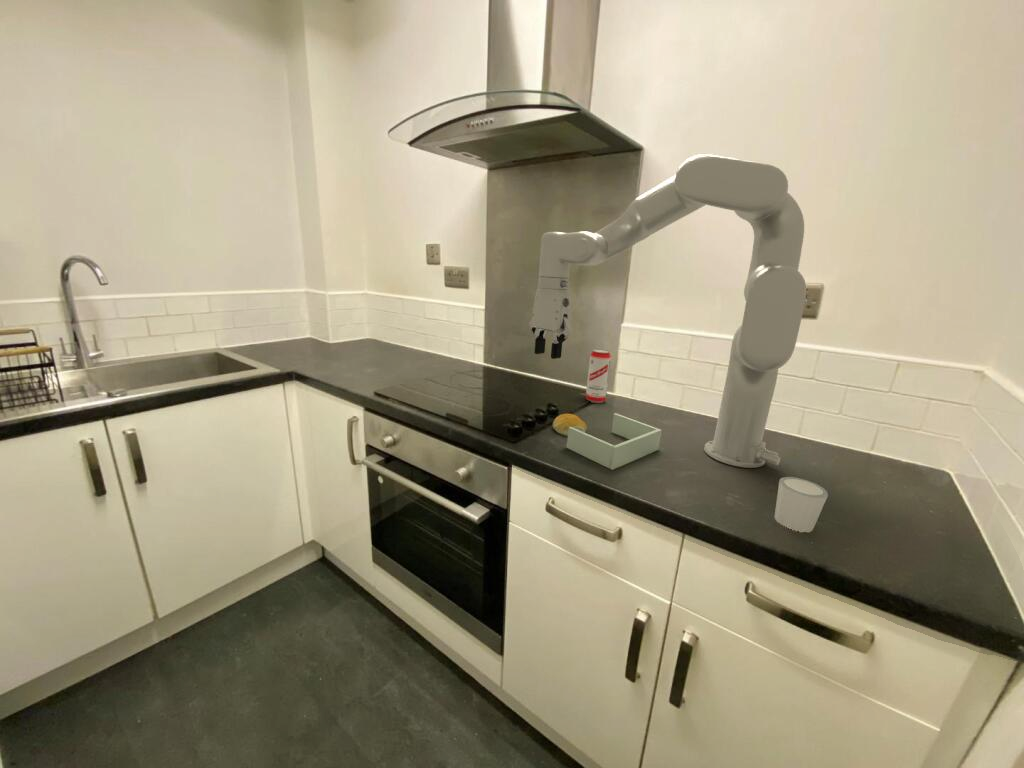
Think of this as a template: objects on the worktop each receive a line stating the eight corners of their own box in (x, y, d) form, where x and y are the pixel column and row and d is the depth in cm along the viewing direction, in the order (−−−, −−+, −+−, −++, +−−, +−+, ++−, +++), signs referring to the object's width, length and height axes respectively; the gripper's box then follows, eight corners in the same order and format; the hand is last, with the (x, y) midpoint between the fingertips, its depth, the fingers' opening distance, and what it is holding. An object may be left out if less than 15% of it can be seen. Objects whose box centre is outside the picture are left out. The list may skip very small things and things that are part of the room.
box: (658, 449, 98) (661, 429, 96) (612, 469, 87) (615, 447, 85) (613, 431, 107) (615, 413, 106) (566, 447, 96) (568, 427, 95)
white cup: (798, 511, 75) (808, 476, 73) (827, 535, 69) (839, 497, 67) (761, 510, 75) (770, 475, 73) (787, 534, 68) (797, 496, 66)
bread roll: (577, 423, 112) (578, 409, 111) (590, 436, 104) (592, 421, 103) (547, 424, 110) (548, 410, 109) (558, 437, 102) (560, 422, 101)
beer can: (605, 404, 128) (612, 353, 123) (585, 402, 129) (590, 351, 124) (605, 398, 134) (611, 349, 129) (585, 396, 135) (591, 347, 130)
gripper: (589, 287, 100) (581, 361, 105) (540, 282, 113) (535, 348, 118) (568, 287, 96) (561, 364, 101) (519, 282, 108) (515, 350, 113)
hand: (547, 355), depth 109 cm, fingers open, 5 cm apart
